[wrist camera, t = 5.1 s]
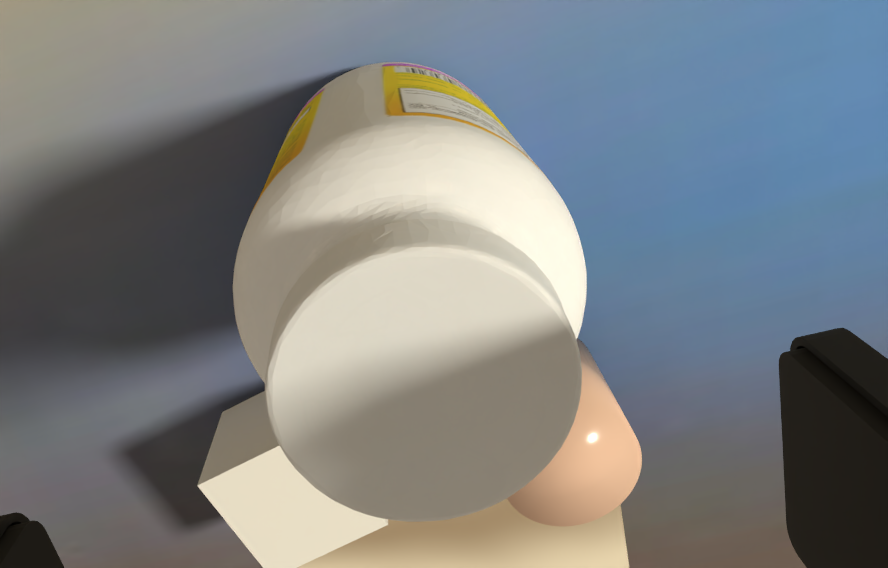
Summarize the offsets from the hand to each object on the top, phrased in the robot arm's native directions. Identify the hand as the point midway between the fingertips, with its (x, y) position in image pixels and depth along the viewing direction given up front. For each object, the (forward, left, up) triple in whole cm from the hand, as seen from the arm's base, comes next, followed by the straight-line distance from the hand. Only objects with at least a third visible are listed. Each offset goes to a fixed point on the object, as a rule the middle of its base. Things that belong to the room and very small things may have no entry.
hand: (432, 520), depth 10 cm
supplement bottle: (-1, 0, -15) cm, 15 cm away
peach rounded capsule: (+7, +3, -15) cm, 17 cm away
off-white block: (+7, -5, -15) cm, 17 cm away
